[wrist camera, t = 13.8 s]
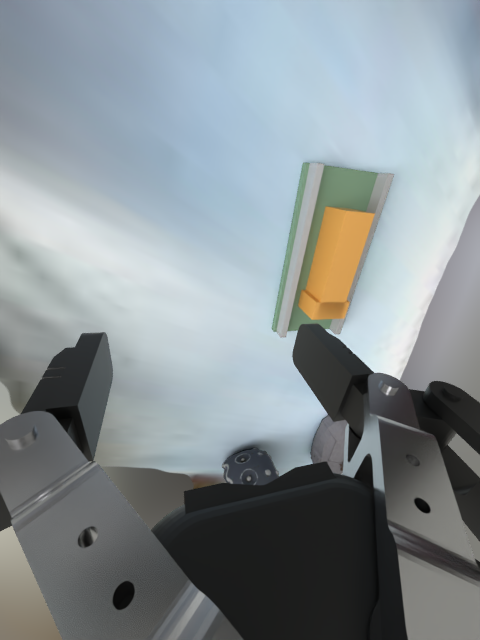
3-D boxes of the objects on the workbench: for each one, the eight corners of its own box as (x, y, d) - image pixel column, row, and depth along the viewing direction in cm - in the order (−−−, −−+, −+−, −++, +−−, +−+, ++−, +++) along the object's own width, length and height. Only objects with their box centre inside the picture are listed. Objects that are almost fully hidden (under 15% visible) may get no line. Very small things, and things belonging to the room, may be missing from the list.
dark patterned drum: (263, 427, 61) (301, 525, 44) (261, 474, 71) (292, 568, 54) (218, 438, 59) (240, 545, 42) (223, 485, 69) (243, 586, 52)
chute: (321, 205, 37) (341, 210, 33) (356, 209, 39) (379, 214, 34) (297, 305, 45) (311, 319, 40) (327, 305, 46) (344, 318, 42)
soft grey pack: (347, 448, 77) (367, 400, 67) (366, 476, 70) (391, 427, 60) (301, 459, 73) (315, 410, 63) (316, 489, 66) (334, 439, 56)
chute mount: (302, 163, 35) (314, 162, 32) (381, 174, 38) (397, 174, 36) (271, 328, 47) (278, 337, 44) (333, 325, 50) (342, 333, 48)
